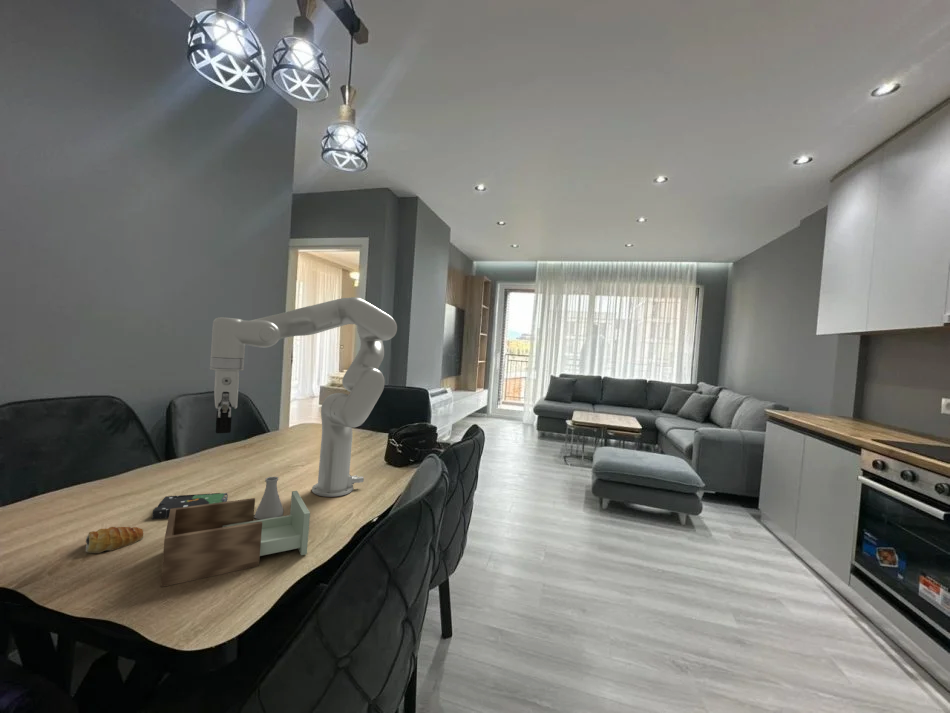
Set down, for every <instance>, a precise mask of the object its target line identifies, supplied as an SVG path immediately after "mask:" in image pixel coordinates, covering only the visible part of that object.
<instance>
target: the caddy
mask: <svg viewBox="0 0 950 713" xmlns="http://www.w3.org/2000/svg"><path fill="white" fill-rule="evenodd" d="M255 505H256V498H255V497H253V498H252V497H251V498H245V499H238V500H230V501H229V500H227V502H220V503H212V504H204V505H196V506H188V507H181V508H173V509H170V513H169V518H167V524H166V529H165V535H164V541H163V550H162V551H163V553H162V565H161V579H160V580H161V581H160V588H163V587H167V586H168V587H169V586H172V585H177V584H181V583H186V582H191V581H196V580H200V579H205V578H208V577H214V576H219V575H223V574H228V573H233V572H237V571H238V572H239V571H241V570H246V569H252V568H256V567H259V566H260V557H261V556H260V546H261V533H262V521H259V522H253V523H247V524H241V525H234V526H228V527H223V526H224V525H230V524H236V523H243V522H249V521H255V518H254V516H255Z"/></svg>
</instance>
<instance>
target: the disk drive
mask: <svg viewBox="0 0 950 713" xmlns="http://www.w3.org/2000/svg"><path fill="white" fill-rule="evenodd" d="M228 497H229V496H228V492H217V493H215V492H214V493H200V494H184V495H183V494H182V495H168V496H164V497H163V498H162V500H161V501H160V502H159V503H158V505H157V507H155V508H154V509H153V510H152V518H151V519H152V520H160V519H161V520H163V519H168V518H169V513H170V509H173V508H181V507H188V506H196V505H204V504H212V503H220V502H228Z"/></svg>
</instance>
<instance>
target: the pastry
mask: <svg viewBox="0 0 950 713" xmlns="http://www.w3.org/2000/svg"><path fill="white" fill-rule="evenodd" d="M143 538H144V529H143V528H141V527H137V526H136V527H135V526H133V527H130V526H117V527H116V526H110V527H109V528H99V529H98V530H96V531H94V530H93V531H89V532H88V534H87V536H86V539H85V542H86V545H85V552H86V553H87V554H88V553H90V554H99V553H102V552H104V551H115V550H117V549H121V548H124V547H127V546H129V545H130V546H131V545H132V544H133V545H134V544H135V543H137V542H138V541H141V540H143Z"/></svg>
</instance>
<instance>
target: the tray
mask: <svg viewBox="0 0 950 713" xmlns="http://www.w3.org/2000/svg"><path fill="white" fill-rule="evenodd" d="M310 518H311V512H310V510H309V509H308V507H307V505H306V503H305V502H304V500H303V498H302V497H301V495H300V493H299V491H297V490H292V491H291V499H290V512H289V515H288V514H287V515H282V516H280V517H274V518H268V519H262V520H261V519H256V520H255V519H254V520H253V521H249V522H243V523H236V524H230V525H224V526H223V527H228V526H234V525H241V524H247V523H253V522H259V521H262V533H261V546H260V557H262V556H266V555H271V554H272V555H273V554H276V553H281V552H286V551H291V550H296V549H298V551H299V554H300V556H305V555H307V554H308V546H309V545H308V544H309V534H310V533H309V532H310V522H311V521H310V520H311V519H310Z"/></svg>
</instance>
